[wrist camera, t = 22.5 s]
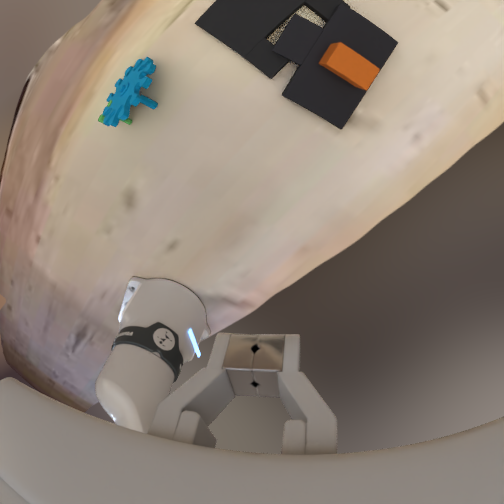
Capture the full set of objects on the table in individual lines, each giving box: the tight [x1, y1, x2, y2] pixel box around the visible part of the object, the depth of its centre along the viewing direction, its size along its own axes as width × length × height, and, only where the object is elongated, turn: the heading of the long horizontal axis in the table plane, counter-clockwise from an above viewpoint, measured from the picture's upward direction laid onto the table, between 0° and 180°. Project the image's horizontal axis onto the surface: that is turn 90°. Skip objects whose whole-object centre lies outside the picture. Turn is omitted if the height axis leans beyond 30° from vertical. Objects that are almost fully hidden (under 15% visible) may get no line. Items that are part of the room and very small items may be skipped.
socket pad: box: [195, 0, 350, 79], centre depth 24 cm, size 14×12×2 cm
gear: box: [98, 57, 158, 127], centre depth 30 cm, size 11×6×10 cm
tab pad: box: [272, 3, 398, 129], centre depth 24 cm, size 14×12×6 cm
